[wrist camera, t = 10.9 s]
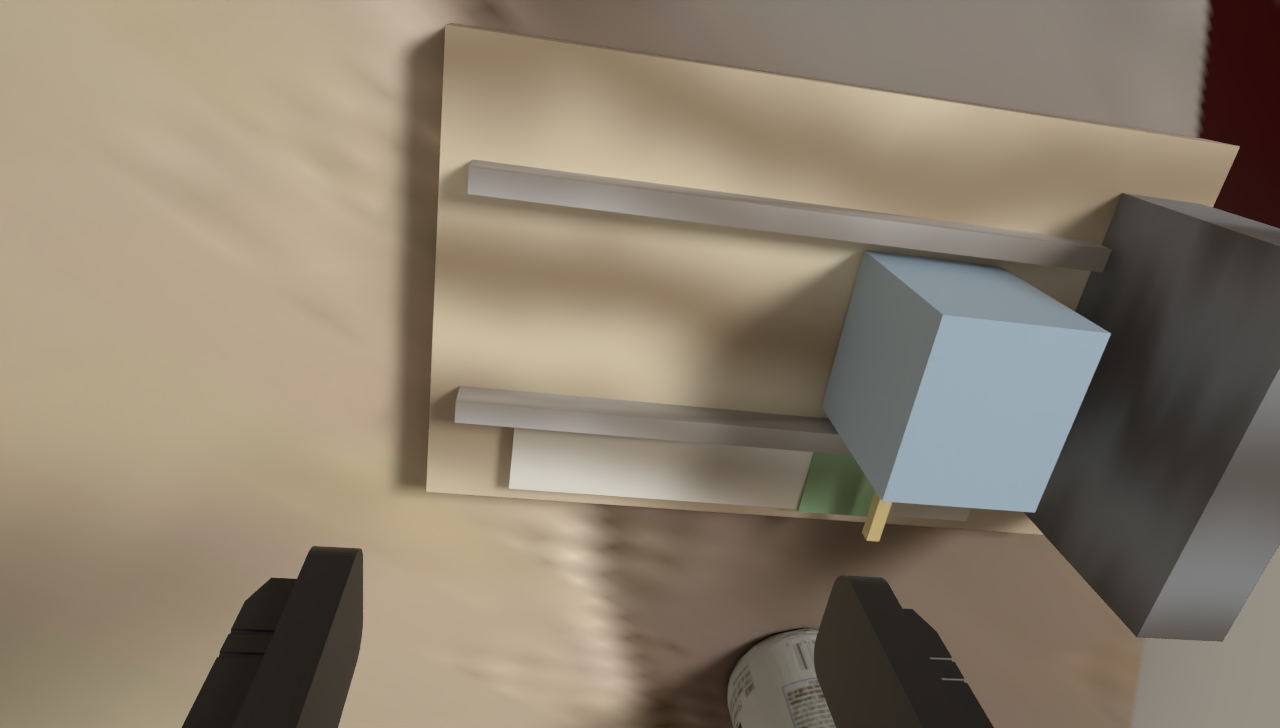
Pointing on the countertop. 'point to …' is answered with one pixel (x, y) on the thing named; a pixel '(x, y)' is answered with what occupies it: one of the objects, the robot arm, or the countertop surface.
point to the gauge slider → (956, 384)
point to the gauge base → (837, 304)
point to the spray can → (778, 685)
